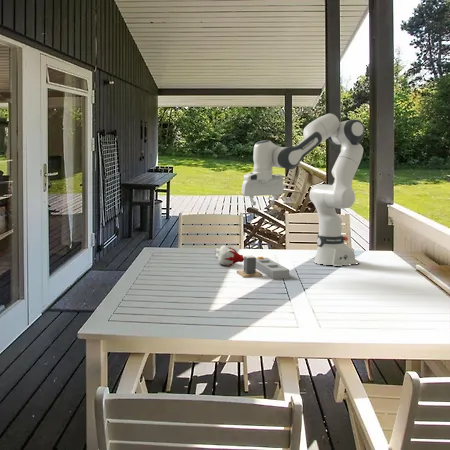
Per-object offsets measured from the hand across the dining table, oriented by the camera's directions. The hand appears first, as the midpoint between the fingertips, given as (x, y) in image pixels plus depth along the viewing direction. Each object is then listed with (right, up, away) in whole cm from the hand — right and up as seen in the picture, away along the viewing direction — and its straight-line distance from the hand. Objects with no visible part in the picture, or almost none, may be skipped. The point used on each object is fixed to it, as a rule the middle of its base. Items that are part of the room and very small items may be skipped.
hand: (262, 204), depth 256 cm
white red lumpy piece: (-16, -29, +8) cm, 34 cm away
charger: (-7, -31, -11) cm, 34 cm away
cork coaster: (-7, -32, -11) cm, 35 cm away
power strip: (+2, -31, -2) cm, 31 cm away
